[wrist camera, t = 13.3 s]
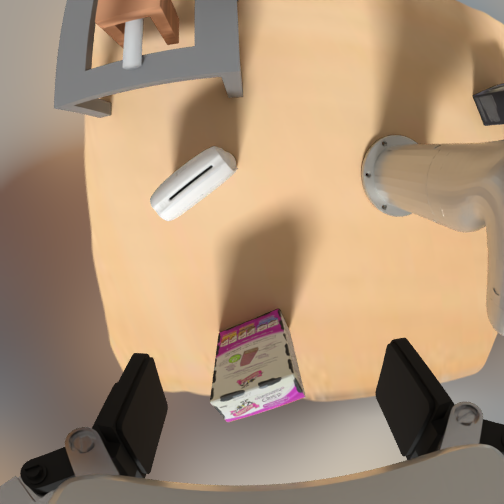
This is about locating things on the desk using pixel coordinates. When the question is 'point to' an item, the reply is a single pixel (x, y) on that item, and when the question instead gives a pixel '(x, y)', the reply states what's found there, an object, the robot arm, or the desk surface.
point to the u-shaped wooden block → (137, 17)
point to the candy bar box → (255, 368)
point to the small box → (491, 105)
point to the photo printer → (193, 182)
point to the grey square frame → (143, 57)
